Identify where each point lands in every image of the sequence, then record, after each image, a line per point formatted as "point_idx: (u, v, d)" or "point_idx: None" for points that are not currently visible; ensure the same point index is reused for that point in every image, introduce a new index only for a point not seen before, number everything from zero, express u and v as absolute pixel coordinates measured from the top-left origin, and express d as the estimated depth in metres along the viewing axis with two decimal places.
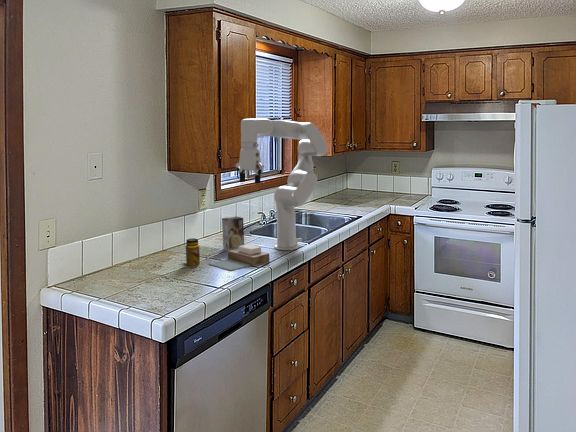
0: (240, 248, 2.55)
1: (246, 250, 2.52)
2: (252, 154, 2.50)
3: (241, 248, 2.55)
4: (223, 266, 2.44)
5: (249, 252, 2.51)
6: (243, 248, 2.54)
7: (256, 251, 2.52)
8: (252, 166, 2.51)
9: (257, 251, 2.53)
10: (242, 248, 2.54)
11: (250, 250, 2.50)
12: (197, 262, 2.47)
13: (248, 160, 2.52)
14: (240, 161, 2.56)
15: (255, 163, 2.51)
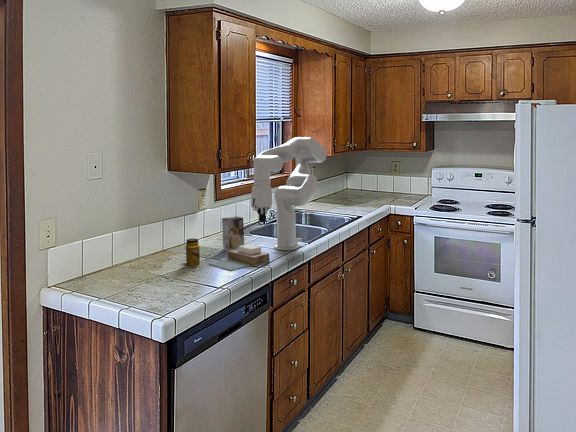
0: (240, 248, 2.55)
1: (246, 250, 2.52)
2: (271, 190, 2.57)
3: (241, 248, 2.55)
4: (223, 266, 2.44)
5: (249, 252, 2.51)
6: (243, 248, 2.54)
7: (256, 251, 2.52)
8: (270, 202, 2.58)
9: (257, 251, 2.53)
10: (242, 248, 2.54)
11: (250, 250, 2.50)
12: (197, 262, 2.47)
13: (267, 197, 2.56)
14: (259, 200, 2.53)
15: None
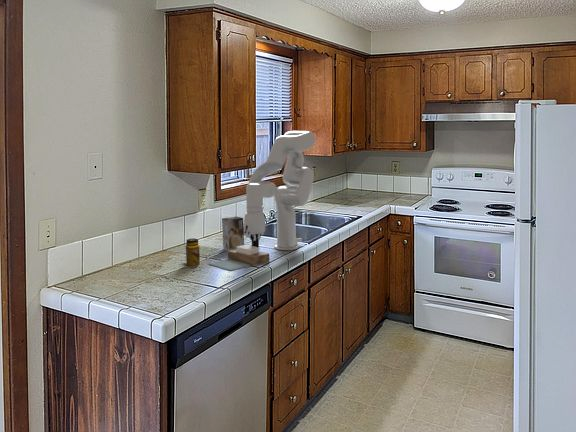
0: (238, 248, 2.54)
1: (244, 250, 2.51)
2: (263, 217, 2.56)
3: (239, 248, 2.54)
4: (223, 266, 2.44)
5: (247, 252, 2.50)
6: (241, 248, 2.53)
7: (254, 251, 2.51)
8: (263, 228, 2.57)
9: (255, 251, 2.52)
10: (240, 248, 2.53)
11: (248, 250, 2.49)
12: (197, 262, 2.47)
13: (260, 223, 2.55)
14: (251, 226, 2.51)
15: None
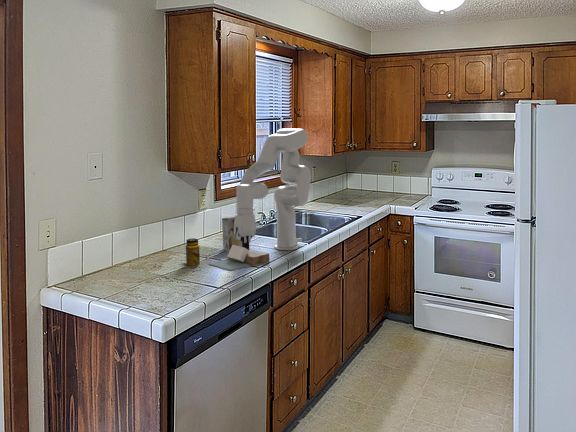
0: (230, 257, 2.52)
1: (236, 259, 2.49)
2: (254, 218, 2.52)
3: (231, 257, 2.51)
4: (223, 266, 2.44)
5: (240, 260, 2.48)
6: (232, 258, 2.50)
7: (244, 254, 2.48)
8: (254, 230, 2.53)
9: (245, 253, 2.48)
10: (231, 258, 2.51)
11: (239, 260, 2.47)
12: (197, 262, 2.47)
13: (251, 225, 2.51)
14: (241, 228, 2.47)
15: None
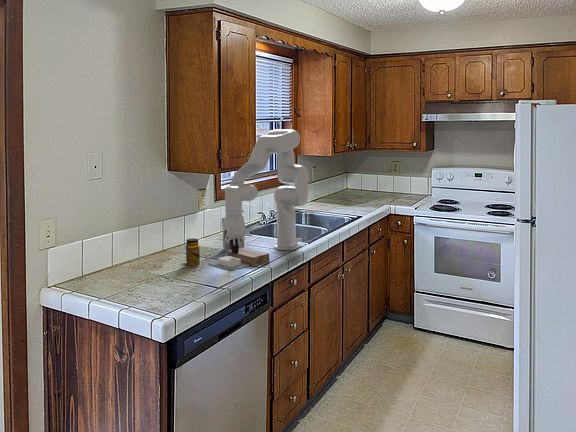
0: None
1: None
2: (243, 221, 2.48)
3: None
4: (223, 266, 2.44)
5: None
6: None
7: (235, 262, 2.44)
8: (243, 233, 2.49)
9: (234, 262, 2.44)
10: None
11: None
12: (197, 262, 2.47)
13: (240, 228, 2.46)
14: (230, 231, 2.43)
15: None
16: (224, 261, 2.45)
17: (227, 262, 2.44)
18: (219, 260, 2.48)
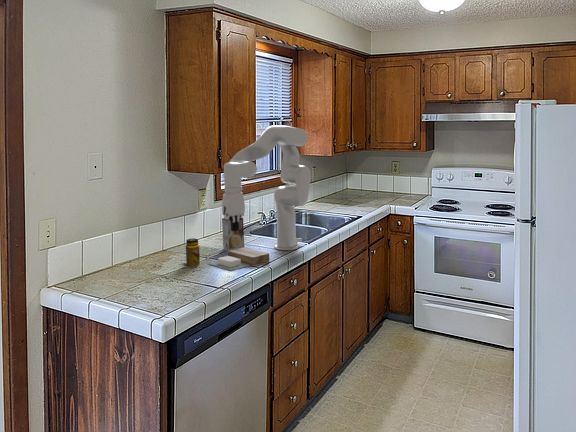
0: None
1: None
2: (243, 197, 2.46)
3: None
4: (223, 266, 2.44)
5: None
6: None
7: (235, 262, 2.44)
8: (243, 209, 2.47)
9: (234, 262, 2.44)
10: None
11: None
12: (197, 262, 2.47)
13: (239, 204, 2.45)
14: (230, 207, 2.41)
15: None
16: (224, 261, 2.45)
17: (227, 262, 2.44)
18: (219, 260, 2.48)
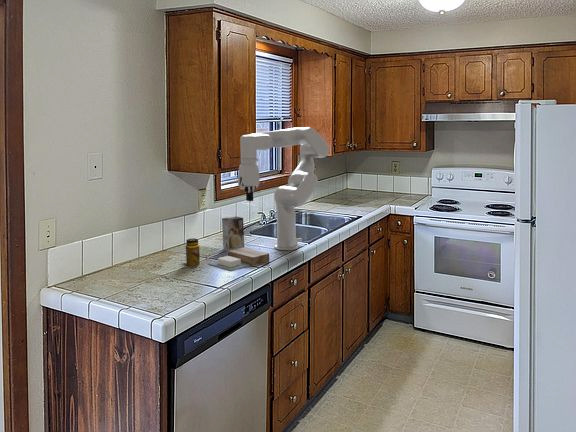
0: None
1: None
2: (258, 169, 2.57)
3: None
4: (223, 266, 2.44)
5: None
6: None
7: (235, 262, 2.44)
8: (258, 181, 2.58)
9: (234, 262, 2.44)
10: None
11: None
12: (197, 262, 2.47)
13: (255, 175, 2.56)
14: (245, 178, 2.52)
15: None
16: (224, 261, 2.45)
17: (227, 262, 2.44)
18: (219, 260, 2.48)
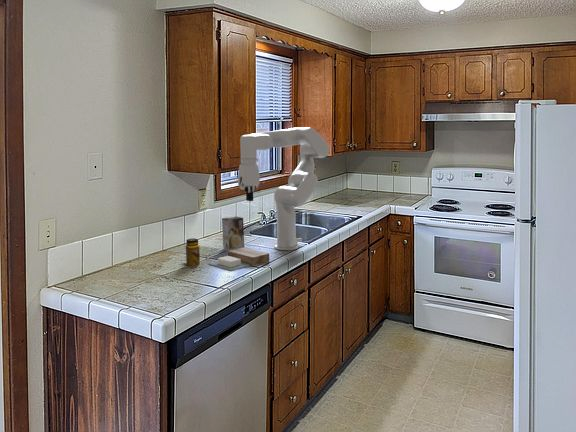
0: None
1: None
2: (258, 169, 2.57)
3: None
4: (223, 266, 2.44)
5: None
6: None
7: (235, 262, 2.44)
8: (258, 181, 2.58)
9: (234, 262, 2.44)
10: None
11: None
12: (197, 262, 2.47)
13: (255, 175, 2.56)
14: (245, 178, 2.52)
15: None
16: (224, 261, 2.45)
17: (227, 262, 2.44)
18: (219, 260, 2.48)
